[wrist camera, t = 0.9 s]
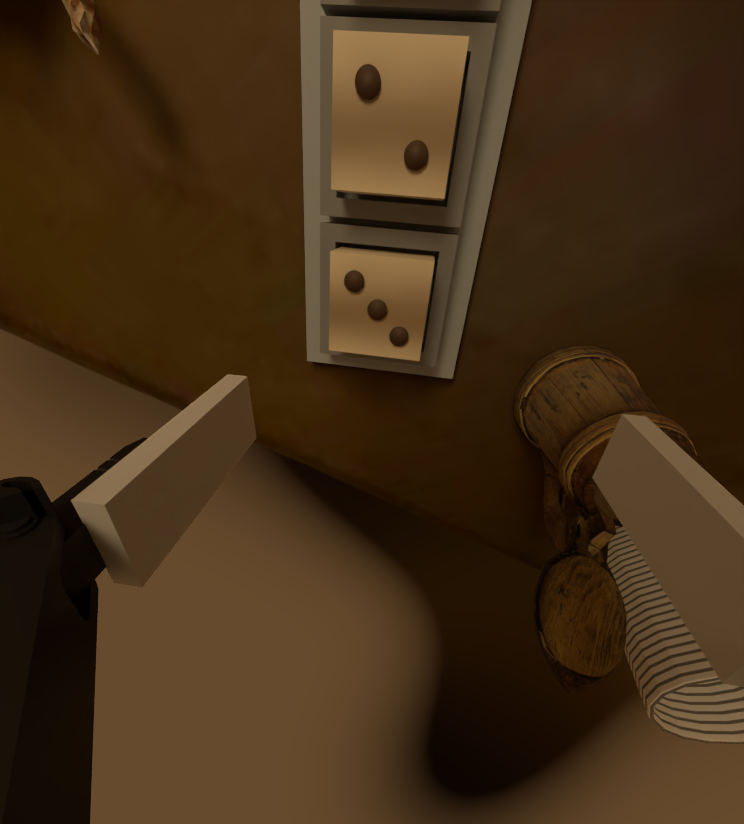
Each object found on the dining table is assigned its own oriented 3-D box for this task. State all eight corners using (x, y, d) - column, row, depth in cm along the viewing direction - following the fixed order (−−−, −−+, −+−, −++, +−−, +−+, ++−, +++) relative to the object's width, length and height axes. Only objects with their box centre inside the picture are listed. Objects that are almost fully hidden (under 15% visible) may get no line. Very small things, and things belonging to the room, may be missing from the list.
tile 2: (346, 56, 18) (332, 27, 15) (463, 62, 18) (469, 34, 15) (342, 192, 21) (330, 189, 18) (442, 200, 21) (444, 198, 18)
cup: (593, 473, 32) (714, 661, 19) (682, 498, 32) (867, 704, 19) (548, 534, 36) (619, 721, 23) (626, 556, 36) (743, 756, 23)
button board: (302, -306, 15) (272, -433, 12) (593, -316, 14) (638, -457, 11) (311, 355, 30) (298, 371, 27) (451, 373, 29) (454, 391, 26)
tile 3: (341, 246, 23) (329, 251, 20) (433, 255, 22) (434, 261, 19) (338, 336, 26) (328, 351, 23) (420, 346, 25) (419, 362, 22)
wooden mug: (460, 448, 33) (490, 662, 17) (567, 324, 26) (776, 488, 10) (537, 490, 34) (632, 725, 18) (659, 381, 27) (972, 606, 12)
